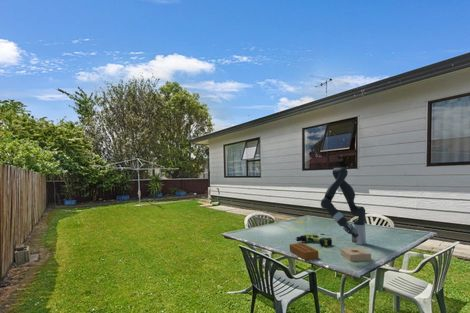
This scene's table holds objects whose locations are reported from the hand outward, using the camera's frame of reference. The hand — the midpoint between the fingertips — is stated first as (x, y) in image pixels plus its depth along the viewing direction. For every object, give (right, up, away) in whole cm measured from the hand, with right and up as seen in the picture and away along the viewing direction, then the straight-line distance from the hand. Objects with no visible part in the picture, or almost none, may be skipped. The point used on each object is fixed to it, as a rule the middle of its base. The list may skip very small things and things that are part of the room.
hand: (356, 236), depth 210 cm
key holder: (-1, -16, 0) cm, 16 cm away
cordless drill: (-22, -19, +41) cm, 51 cm away
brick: (-38, -18, +12) cm, 44 cm away
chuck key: (-1, -5, +1) cm, 5 cm away
